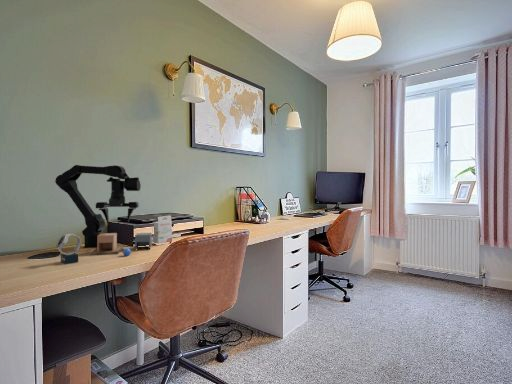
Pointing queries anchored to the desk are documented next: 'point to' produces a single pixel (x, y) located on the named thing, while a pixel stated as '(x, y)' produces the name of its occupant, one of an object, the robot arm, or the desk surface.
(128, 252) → the blue marble
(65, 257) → the watch
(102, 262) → the desk surface
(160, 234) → the ink cartridge box
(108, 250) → the walnut mat
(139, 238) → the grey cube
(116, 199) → the robot arm
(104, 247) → the tan open box
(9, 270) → the desk surface
